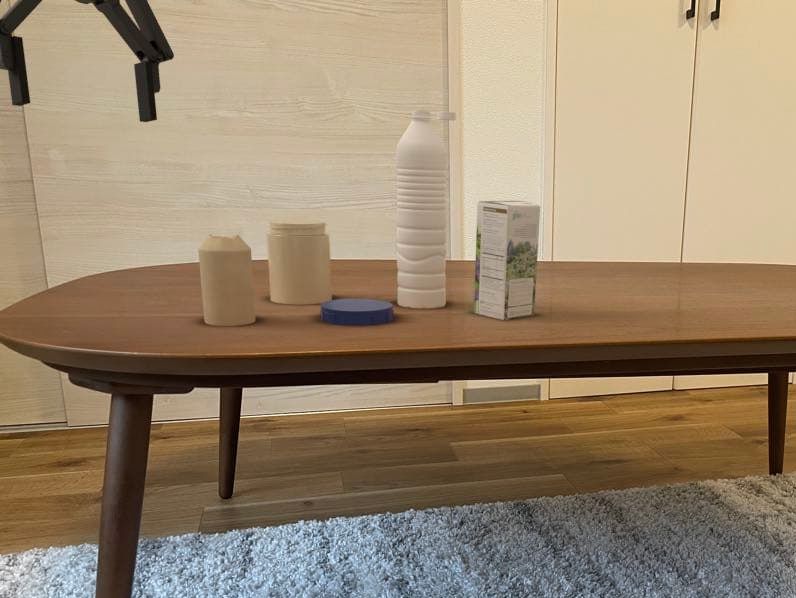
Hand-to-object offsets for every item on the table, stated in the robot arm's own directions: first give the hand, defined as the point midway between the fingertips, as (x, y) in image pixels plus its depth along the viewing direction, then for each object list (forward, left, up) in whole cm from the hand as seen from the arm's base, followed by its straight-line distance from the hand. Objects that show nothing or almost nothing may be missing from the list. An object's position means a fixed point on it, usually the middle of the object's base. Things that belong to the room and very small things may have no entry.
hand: (88, 113), depth 88 cm
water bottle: (+31, -23, -23) cm, 45 cm away
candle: (+6, -17, -23) cm, 29 cm away
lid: (+17, -25, -21) cm, 37 cm away
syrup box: (+33, -35, -23) cm, 53 cm away
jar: (+20, -10, -22) cm, 32 cm away
